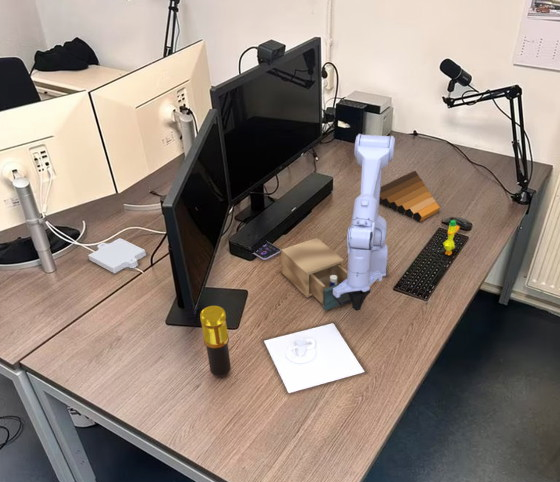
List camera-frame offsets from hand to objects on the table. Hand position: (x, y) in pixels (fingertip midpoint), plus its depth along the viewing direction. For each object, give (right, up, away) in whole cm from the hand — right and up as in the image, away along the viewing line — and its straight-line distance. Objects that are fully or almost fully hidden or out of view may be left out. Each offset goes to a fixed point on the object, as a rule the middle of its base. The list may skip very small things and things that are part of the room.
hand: (356, 308), depth 151 cm
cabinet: (-11, +9, +18) cm, 23 cm away
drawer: (-5, +4, +9) cm, 11 cm away
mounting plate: (-74, +17, +31) cm, 82 cm away
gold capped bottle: (-37, -19, -14) cm, 44 cm away
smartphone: (-28, +20, +32) cm, 47 cm away
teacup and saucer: (-12, -12, -8) cm, 19 cm away
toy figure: (+33, +18, +26) cm, 46 cm away
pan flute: (+29, +41, +55) cm, 75 cm away
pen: (-5, +5, +9) cm, 11 cm away
